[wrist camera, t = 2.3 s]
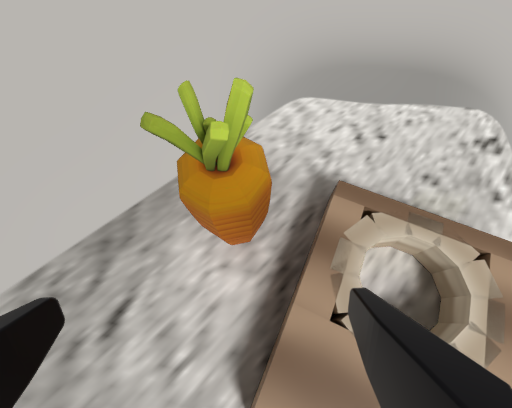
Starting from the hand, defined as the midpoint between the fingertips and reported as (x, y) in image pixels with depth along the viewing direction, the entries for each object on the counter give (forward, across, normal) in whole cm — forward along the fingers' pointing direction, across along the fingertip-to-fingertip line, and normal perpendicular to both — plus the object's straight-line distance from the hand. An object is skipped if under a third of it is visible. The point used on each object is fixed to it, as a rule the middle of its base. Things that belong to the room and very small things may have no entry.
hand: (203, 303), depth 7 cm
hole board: (+8, -11, +10) cm, 17 cm away
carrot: (+13, 0, +5) cm, 14 cm away
